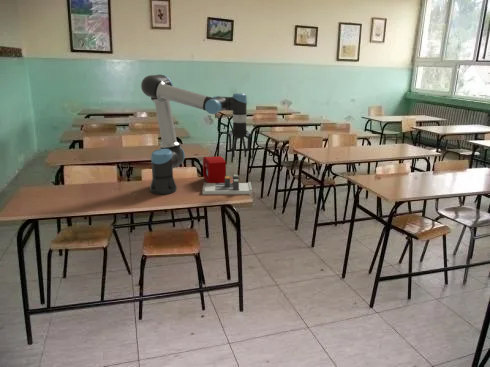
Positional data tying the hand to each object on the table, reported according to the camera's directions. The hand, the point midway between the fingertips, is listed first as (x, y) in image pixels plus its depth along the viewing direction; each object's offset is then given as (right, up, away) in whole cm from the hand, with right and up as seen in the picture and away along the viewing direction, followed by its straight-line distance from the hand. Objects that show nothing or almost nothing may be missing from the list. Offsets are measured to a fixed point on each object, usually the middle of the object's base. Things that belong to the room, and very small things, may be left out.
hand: (239, 162), depth 230 cm
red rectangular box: (-16, -11, +22) cm, 29 cm away
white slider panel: (-7, -16, +5) cm, 18 cm away
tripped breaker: (-7, -13, +4) cm, 16 cm away
